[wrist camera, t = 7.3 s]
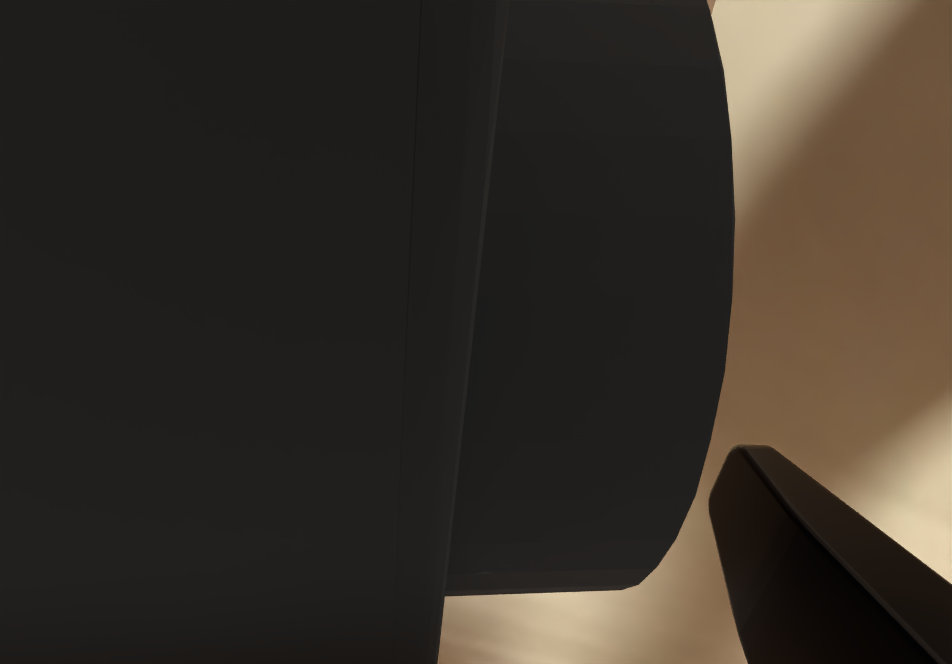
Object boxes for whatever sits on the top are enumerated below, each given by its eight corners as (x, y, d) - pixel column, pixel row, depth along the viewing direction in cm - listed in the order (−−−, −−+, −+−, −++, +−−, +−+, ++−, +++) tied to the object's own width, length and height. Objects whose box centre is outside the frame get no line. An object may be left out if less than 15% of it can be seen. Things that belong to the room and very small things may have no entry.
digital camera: (447, 519, 14) (513, 1046, 8) (110, 531, 13) (-67, 1126, 8) (521, -207, 8) (942, -61, 2) (-92, -271, 7) (-1758, -281, 1)
